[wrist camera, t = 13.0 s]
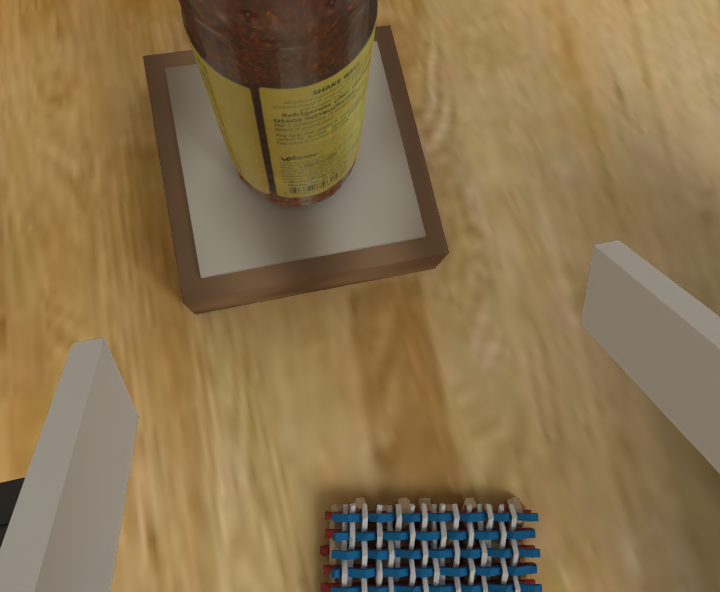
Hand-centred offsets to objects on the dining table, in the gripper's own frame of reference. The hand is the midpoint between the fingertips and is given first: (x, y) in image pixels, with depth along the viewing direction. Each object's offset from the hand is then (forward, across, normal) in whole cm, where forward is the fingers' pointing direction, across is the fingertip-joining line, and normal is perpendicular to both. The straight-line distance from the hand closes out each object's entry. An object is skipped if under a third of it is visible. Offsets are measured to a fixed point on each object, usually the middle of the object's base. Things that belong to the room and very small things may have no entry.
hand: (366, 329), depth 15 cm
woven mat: (+2, +2, -19) cm, 20 cm away
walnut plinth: (+18, 0, -2) cm, 18 cm away
